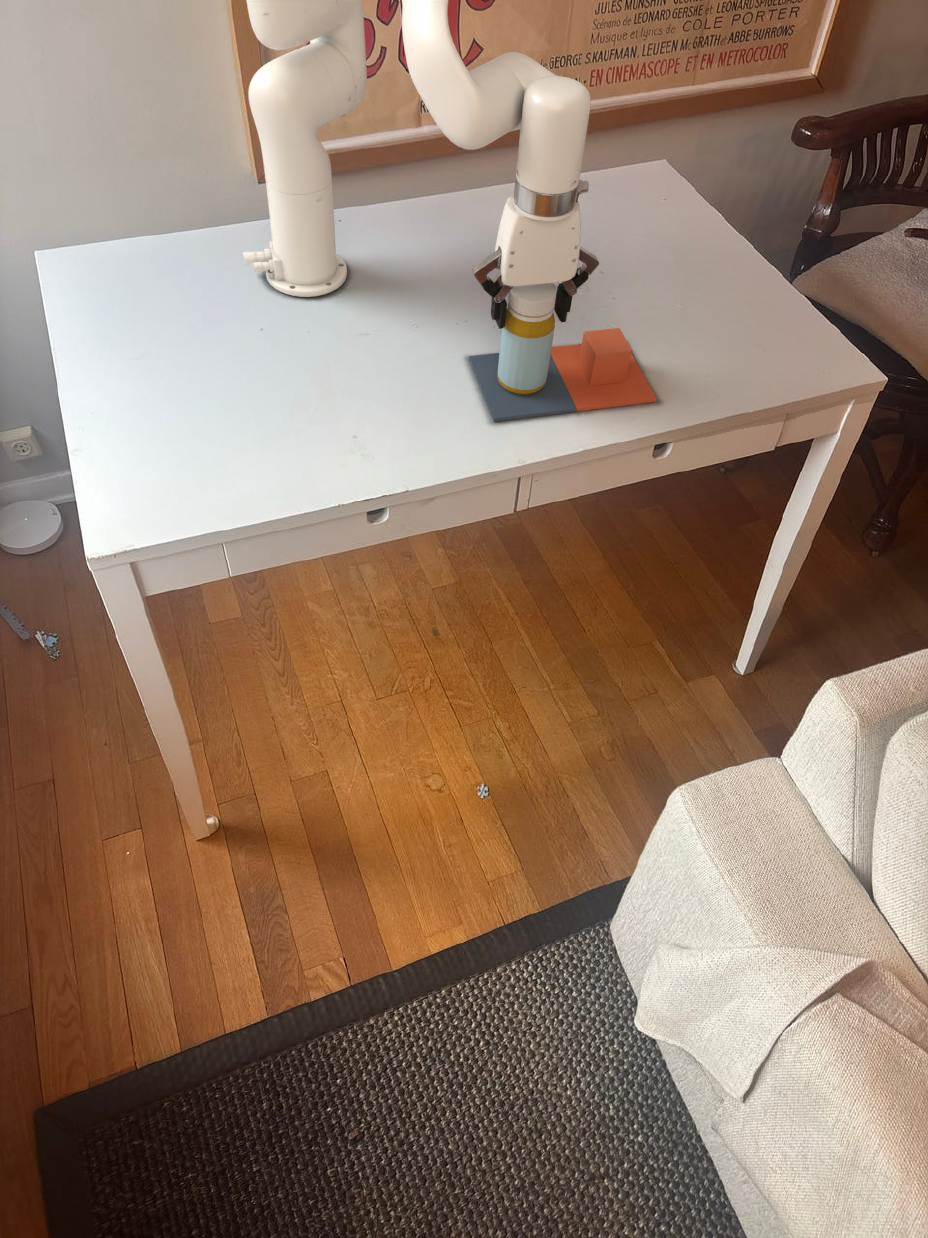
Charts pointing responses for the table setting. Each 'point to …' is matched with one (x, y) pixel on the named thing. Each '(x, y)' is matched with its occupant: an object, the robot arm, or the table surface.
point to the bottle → (527, 338)
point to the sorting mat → (558, 388)
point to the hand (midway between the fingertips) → (529, 318)
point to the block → (604, 356)
